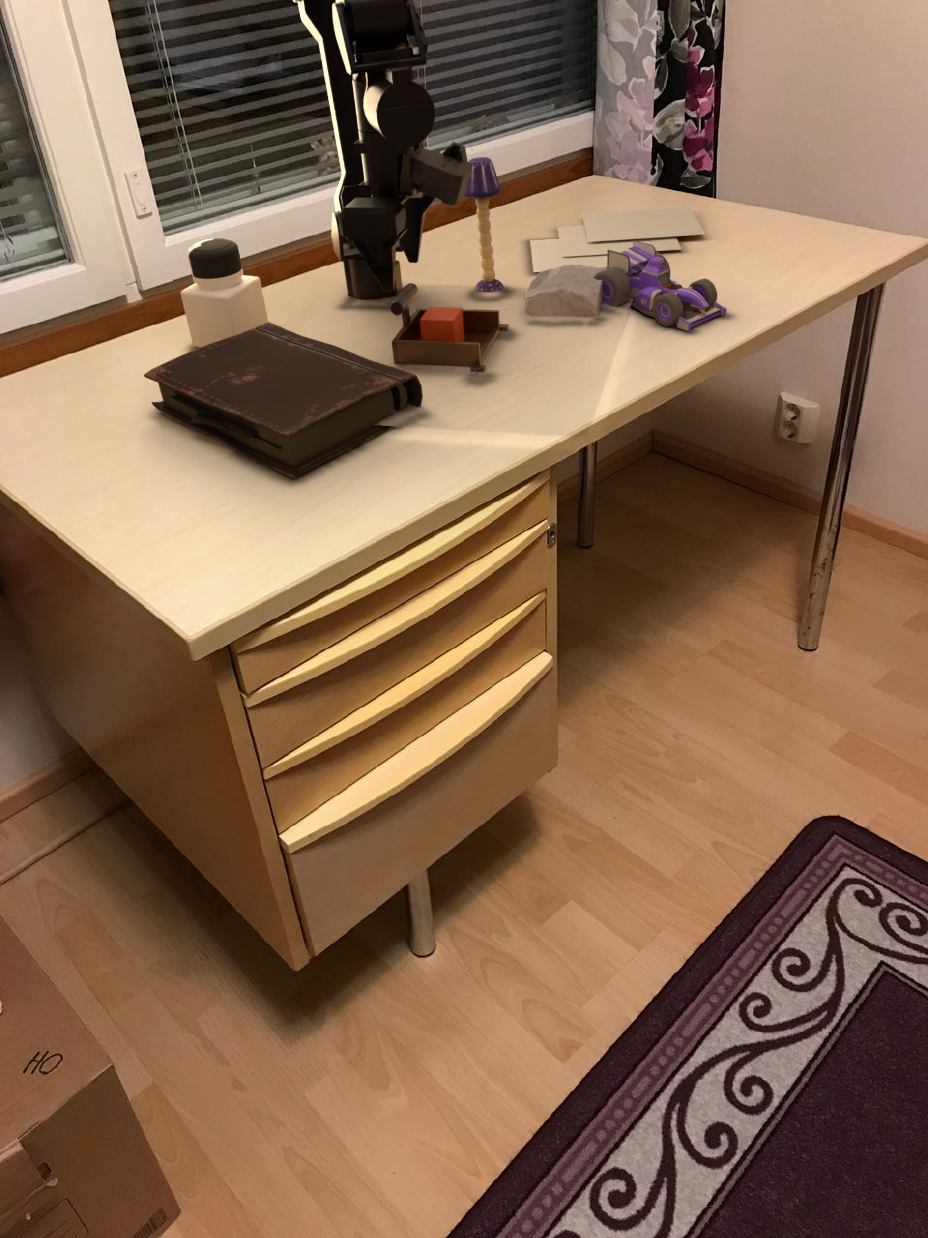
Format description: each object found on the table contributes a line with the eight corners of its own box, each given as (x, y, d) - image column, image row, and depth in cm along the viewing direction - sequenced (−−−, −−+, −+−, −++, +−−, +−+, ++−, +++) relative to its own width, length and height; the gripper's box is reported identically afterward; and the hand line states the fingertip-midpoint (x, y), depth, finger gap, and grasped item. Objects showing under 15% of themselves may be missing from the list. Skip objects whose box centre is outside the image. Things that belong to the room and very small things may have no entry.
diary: (280, 357, 121) (272, 316, 118) (425, 412, 106) (420, 368, 103) (147, 414, 111) (135, 372, 108) (287, 484, 96) (278, 437, 93)
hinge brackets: (469, 381, 112) (468, 370, 111) (497, 332, 122) (497, 321, 121) (483, 382, 111) (482, 370, 110) (510, 333, 122) (510, 321, 121)
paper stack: (717, 260, 136) (717, 255, 136) (533, 272, 138) (533, 267, 137) (689, 210, 155) (689, 205, 154) (527, 221, 156) (527, 216, 156)
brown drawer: (390, 367, 115) (383, 308, 111) (415, 333, 123) (409, 276, 119) (480, 371, 113) (476, 311, 108) (500, 335, 120) (497, 277, 116)
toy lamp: (464, 298, 132) (455, 163, 122) (477, 285, 136) (469, 153, 125) (498, 300, 131) (492, 164, 120) (511, 288, 134) (505, 154, 124)
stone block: (525, 336, 125) (604, 322, 121) (516, 299, 122) (597, 282, 119) (539, 304, 134) (613, 290, 131) (531, 268, 131) (607, 253, 128)
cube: (423, 352, 116) (419, 319, 114) (432, 339, 119) (429, 306, 117) (456, 354, 115) (453, 320, 113) (464, 340, 118) (462, 307, 116)
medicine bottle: (271, 331, 128) (252, 235, 120) (239, 353, 123) (217, 254, 115) (225, 326, 130) (204, 231, 123) (192, 347, 125) (168, 250, 118)
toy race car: (680, 336, 118) (684, 281, 114) (590, 305, 127) (590, 253, 123) (733, 313, 122) (738, 259, 118) (642, 285, 132) (644, 234, 128)
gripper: (435, 148, 95) (448, 309, 105) (482, 104, 109) (489, 249, 119) (326, 150, 98) (348, 306, 107) (385, 106, 112) (400, 248, 121)
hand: (401, 276), depth 114 cm, fingers open, 9 cm apart
